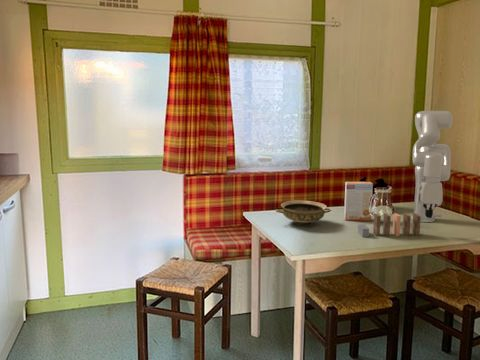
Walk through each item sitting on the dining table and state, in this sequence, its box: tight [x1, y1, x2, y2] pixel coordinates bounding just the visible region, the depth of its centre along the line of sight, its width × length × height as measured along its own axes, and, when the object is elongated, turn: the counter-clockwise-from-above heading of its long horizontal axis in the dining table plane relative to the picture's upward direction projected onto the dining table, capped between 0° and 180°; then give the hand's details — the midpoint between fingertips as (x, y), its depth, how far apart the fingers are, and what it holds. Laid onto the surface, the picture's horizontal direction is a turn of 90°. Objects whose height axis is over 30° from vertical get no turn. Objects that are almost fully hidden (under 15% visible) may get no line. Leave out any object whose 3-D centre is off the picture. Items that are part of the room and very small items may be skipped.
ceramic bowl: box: [275, 199, 332, 226], centre depth 236 cm, size 30×24×10 cm
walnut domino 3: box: [401, 213, 412, 237], centre depth 216 cm, size 2×5×10 cm, turn 0°
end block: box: [357, 223, 370, 238], centre depth 217 cm, size 3×8×4 cm, turn 1°
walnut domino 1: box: [372, 212, 382, 237], centre depth 216 cm, size 2×5×10 cm, turn 1°
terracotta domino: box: [392, 212, 402, 237], centre depth 216 cm, size 2×5×10 cm, turn 0°
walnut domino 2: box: [382, 212, 392, 237], centre depth 216 cm, size 2×5×10 cm, turn 1°
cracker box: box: [343, 181, 374, 222], centre depth 243 cm, size 14×6×21 cm, turn 84°
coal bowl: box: [358, 176, 389, 195], centre depth 268 cm, size 20×20×19 cm
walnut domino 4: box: [411, 212, 421, 237], centre depth 216 cm, size 2×5×10 cm, turn 0°
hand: (428, 217), depth 216 cm, fingers closed
